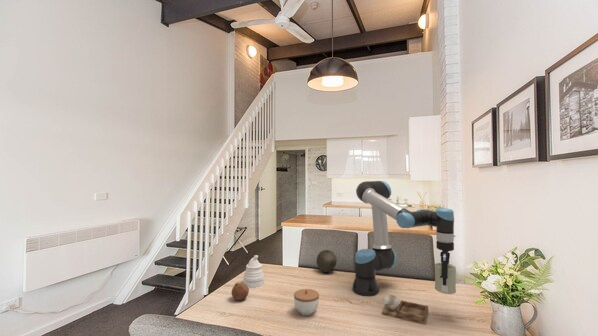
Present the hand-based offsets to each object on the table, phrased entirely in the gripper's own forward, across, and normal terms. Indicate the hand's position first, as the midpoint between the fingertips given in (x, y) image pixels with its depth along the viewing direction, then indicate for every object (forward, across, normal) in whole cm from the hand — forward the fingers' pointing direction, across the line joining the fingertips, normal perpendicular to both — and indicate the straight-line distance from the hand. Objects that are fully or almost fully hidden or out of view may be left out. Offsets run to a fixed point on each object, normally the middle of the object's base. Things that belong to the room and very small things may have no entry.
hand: (445, 287), depth 139 cm
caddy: (+15, -4, +18) cm, 23 cm away
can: (+1, 0, 0) cm, 1 cm away
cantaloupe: (+16, +31, +76) cm, 83 cm away
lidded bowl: (+15, -26, +62) cm, 69 cm away
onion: (+16, -31, +101) cm, 107 cm away
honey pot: (+16, -10, +108) cm, 109 cm away
